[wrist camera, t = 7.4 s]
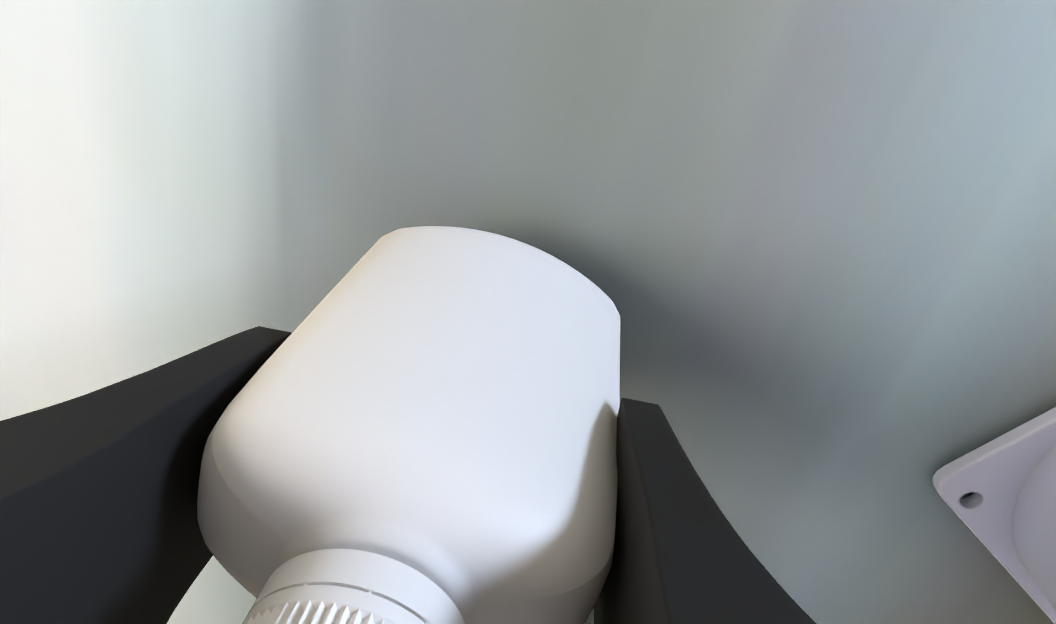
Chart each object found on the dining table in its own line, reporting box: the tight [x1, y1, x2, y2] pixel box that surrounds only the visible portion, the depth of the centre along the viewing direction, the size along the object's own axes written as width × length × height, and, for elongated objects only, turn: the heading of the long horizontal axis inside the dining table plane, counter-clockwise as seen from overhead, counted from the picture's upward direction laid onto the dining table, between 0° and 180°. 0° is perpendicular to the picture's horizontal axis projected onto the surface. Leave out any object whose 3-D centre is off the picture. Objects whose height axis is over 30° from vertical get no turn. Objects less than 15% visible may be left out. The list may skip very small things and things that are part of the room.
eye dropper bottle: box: [197, 226, 620, 624], centre depth 10 cm, size 4×6×12 cm
